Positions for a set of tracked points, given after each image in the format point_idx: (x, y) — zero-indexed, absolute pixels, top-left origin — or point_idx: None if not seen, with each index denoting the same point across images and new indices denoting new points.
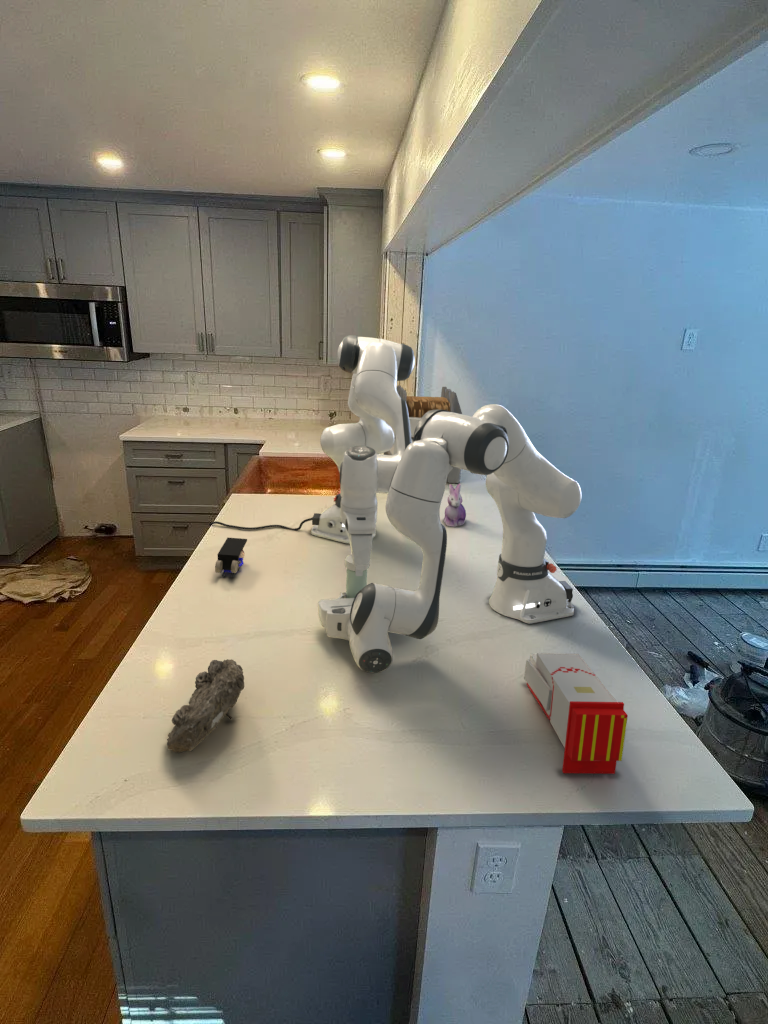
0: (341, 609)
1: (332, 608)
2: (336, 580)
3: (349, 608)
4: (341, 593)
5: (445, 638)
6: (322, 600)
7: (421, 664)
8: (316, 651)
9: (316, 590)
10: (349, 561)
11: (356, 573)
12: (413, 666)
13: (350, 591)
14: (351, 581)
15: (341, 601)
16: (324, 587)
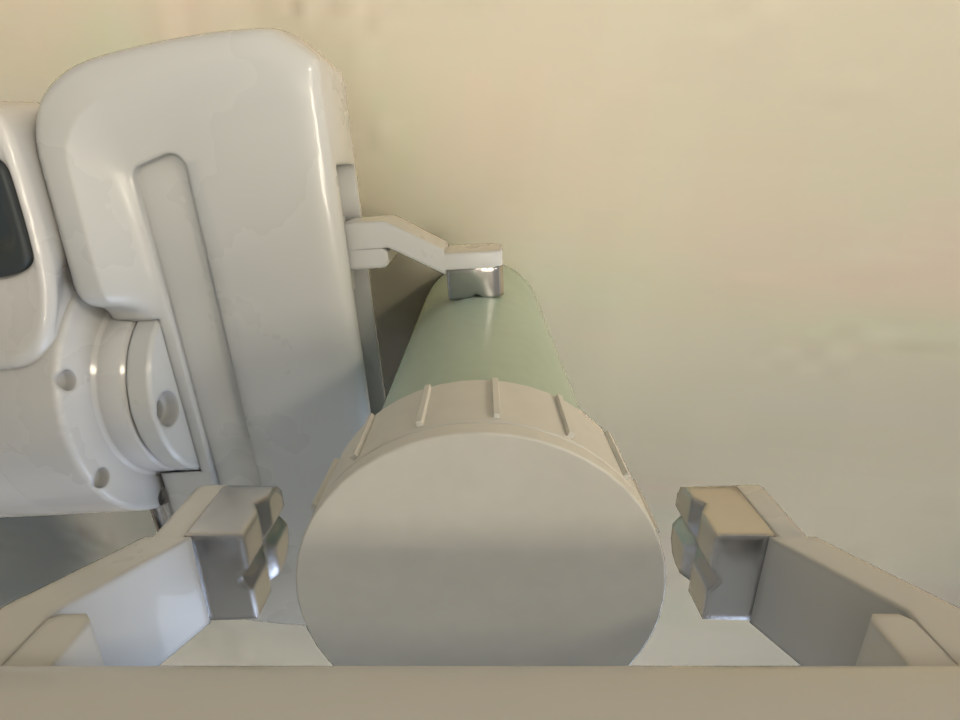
0: (5, 245)
1: (172, 168)
2: (957, 232)
3: (1, 317)
4: (479, 260)
5: (274, 664)
6: (274, 74)
7: (63, 554)
8: (73, 57)
9: (852, 76)
10: (377, 485)
11: (186, 508)
12: (41, 524)
13: (413, 341)
14: (393, 384)
15: (275, 253)
16: (880, 140)
